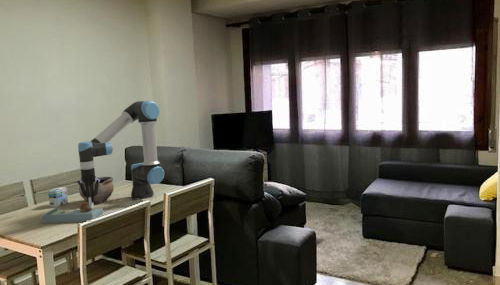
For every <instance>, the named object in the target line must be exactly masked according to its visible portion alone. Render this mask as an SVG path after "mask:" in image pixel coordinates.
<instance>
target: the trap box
mask: <svg viewBox="0 0 500 285" xmlns="http://www.w3.org/2000/svg"><path fill="white" fill-rule="evenodd" d="M103 215H104V208H92V210H91V211H90V212H80V209H74V210H72V211H71V212H66V210H65V209H61V210H59V207H54V208H53V209H50V210H49V211H47V212H45V213H44V214H42V215H41V223H42V224H56V223H58V224H60V223H79V222H80V223H81V222H82V223H84V222H83V221H87V220H91V219H94V218H97V217H98V218H99V217H101V216H103ZM98 218H97V219H98Z"/></svg>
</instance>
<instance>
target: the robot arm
mask: <svg viewBox="0 0 500 285" xmlns="http://www.w3.org/2000/svg"><path fill="white" fill-rule="evenodd" d="M159 115H160V106H158V104H157V103H156V102H155V101H153V100H138V101H135V102H133V103H131V104H130V105H129V106H127V107H126V108H125V109H124V110H123V111H122V112H121V114H120V115H119V116H118V117H117V118H116V119H115V120H114V121H112V122H110V124H109V125H108V126H106V127H105V128H104V129H103V130H102V131H100V132H99V133H98V134H97V135H96V136H95V137H94V138H93V139H91V140H90V141H80V142H79V143H78V144H77V148H78V150H77V151H78V158H79V168H80V175H81V178H80V179H79V180H78V181H77V184H78V185H79V187H80V188H81V191H82V194H83V196H84V197H87V202H88V203H89V208H90V209H94V207H95V206H94V204H95V203H93V202H94V201H95V200H94V196H96V195H97V193H98V186H99V182H100V179H97V178H98V177H97V176H96V171H95V169H96V168H94V167H95V163H94V162H95V160H94V158H96V157H103V156H104V157H105V156H110V155H112V154H113V150H114V148H113V145H112V143H110V141H112V139H113V138H115V137H116V136H117V135H118V134H119V133H121V131H123V130H124V129H125V128H126V127H127V126H128V125H130V124H133V123H134V122H136V121H137V122H138V124H139V125H140V127H141V128H140V129H141V136H142V137H141V138H142V141H141V142H142V151H143V162H138V163H134V164H131V166H130V174H131V180H132V181H131V182H132V187H131V192H130V199H132V200H143V199H144V200H145V199H148V198H147V197H149V198H151V197H150V196H152V195H154V196H155V193H154V189H153V187H152V185H157V184H159V183H161V182H162V181H163V180H164V177H165V170H164V169H163V167H162V166H161V162H160V161H159V160H158V147H157V135H156V123H157V121H158V117H159ZM94 181H95V182H96V183H95V188H94V187H93V185H94ZM83 182H84V183H85V187H84V185H83ZM89 186H90V189H89ZM85 188H86V190H85ZM90 196H91V197H90ZM152 197H153V196H152Z"/></svg>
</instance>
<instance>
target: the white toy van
mask: <svg viewBox="0 0 500 285" xmlns="http://www.w3.org/2000/svg"><path fill="white" fill-rule="evenodd" d="M47 194H48V202H49V203H48V204H49V207H50V208H60V207H62V206H65V205H66V203H67V204H68V203H69V198H68V197H69V196H68V188H67V186H66V187H64V186H63V187H61V186H60V187H56V188H52V189H49V190H47Z"/></svg>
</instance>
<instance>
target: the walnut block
mask: <svg viewBox="0 0 500 285" xmlns="http://www.w3.org/2000/svg"><path fill="white" fill-rule="evenodd" d="M92 209H93V208H92ZM92 209H90V208H89V203H88V202H87V201H86V200H85V201H82V202H80V203H79V210H80V212H90V211H91V210H92Z"/></svg>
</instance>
